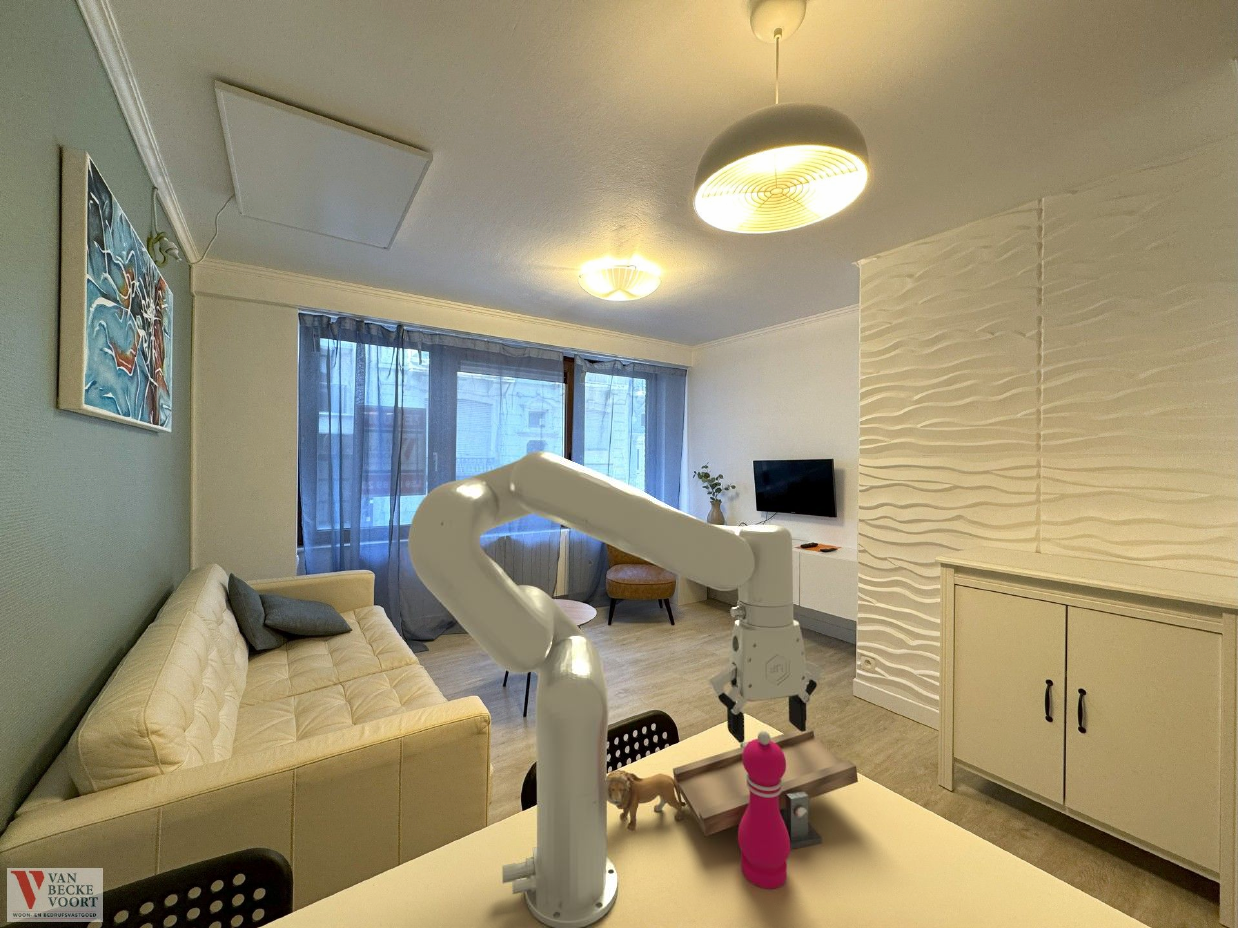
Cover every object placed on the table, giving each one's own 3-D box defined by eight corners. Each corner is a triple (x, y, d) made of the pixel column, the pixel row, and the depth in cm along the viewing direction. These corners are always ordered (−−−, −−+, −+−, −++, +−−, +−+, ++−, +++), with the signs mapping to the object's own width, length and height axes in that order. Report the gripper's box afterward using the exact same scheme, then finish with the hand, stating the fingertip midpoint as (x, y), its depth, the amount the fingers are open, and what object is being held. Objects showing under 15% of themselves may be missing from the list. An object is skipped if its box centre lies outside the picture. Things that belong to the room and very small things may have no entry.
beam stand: (781, 851, 76) (781, 803, 76) (728, 781, 92) (728, 742, 92) (821, 842, 78) (822, 795, 78) (763, 775, 94) (763, 737, 94)
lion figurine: (611, 843, 78) (611, 785, 78) (598, 820, 83) (598, 765, 82) (693, 816, 83) (693, 762, 83) (677, 797, 88) (677, 745, 88)
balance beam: (705, 835, 75) (703, 818, 75) (674, 783, 87) (672, 768, 87) (858, 781, 82) (856, 765, 82) (809, 740, 94) (808, 726, 94)
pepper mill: (793, 896, 68) (794, 748, 68) (738, 887, 70) (738, 742, 69) (786, 855, 75) (787, 721, 75) (737, 847, 77) (737, 716, 77)
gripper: (722, 627, 66) (724, 757, 67) (835, 614, 71) (837, 736, 71) (698, 610, 74) (700, 727, 74) (802, 600, 78) (804, 710, 78)
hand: (767, 731), depth 72 cm, fingers open, 9 cm apart
